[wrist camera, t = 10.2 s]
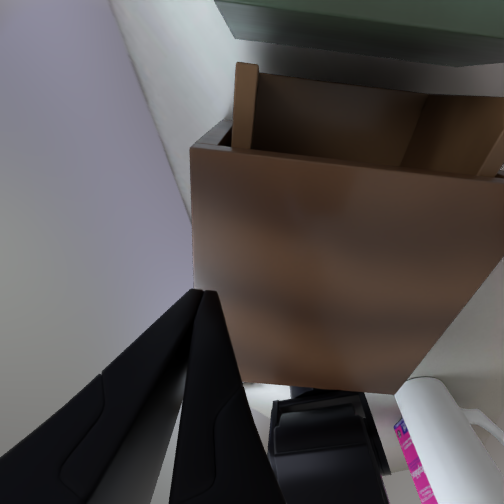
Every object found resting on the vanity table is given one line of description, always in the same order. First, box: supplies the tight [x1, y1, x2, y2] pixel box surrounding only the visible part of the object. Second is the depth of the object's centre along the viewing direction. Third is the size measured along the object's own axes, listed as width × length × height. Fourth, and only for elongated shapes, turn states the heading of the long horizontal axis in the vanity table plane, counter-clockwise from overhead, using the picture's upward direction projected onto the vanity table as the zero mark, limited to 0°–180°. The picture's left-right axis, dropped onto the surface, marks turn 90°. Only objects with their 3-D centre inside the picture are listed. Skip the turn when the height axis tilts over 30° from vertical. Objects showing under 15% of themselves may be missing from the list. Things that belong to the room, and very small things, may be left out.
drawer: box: [214, 0, 504, 178], centre depth 12 cm, size 19×13×8 cm, turn 174°
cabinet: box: [190, 119, 504, 395], centre depth 17 cm, size 15×14×9 cm
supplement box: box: [394, 418, 438, 504], centre depth 33 cm, size 6×6×12 cm
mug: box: [394, 377, 504, 504], centre depth 28 cm, size 10×7×12 cm, turn 101°
